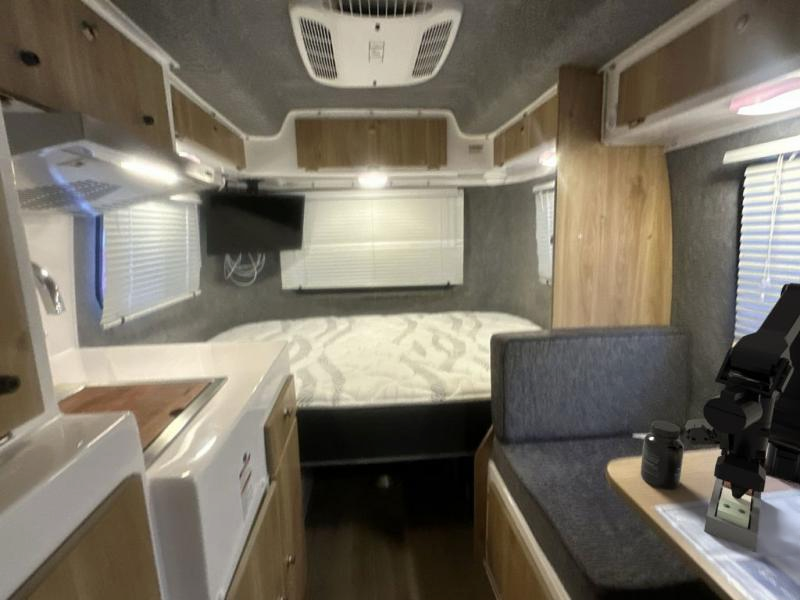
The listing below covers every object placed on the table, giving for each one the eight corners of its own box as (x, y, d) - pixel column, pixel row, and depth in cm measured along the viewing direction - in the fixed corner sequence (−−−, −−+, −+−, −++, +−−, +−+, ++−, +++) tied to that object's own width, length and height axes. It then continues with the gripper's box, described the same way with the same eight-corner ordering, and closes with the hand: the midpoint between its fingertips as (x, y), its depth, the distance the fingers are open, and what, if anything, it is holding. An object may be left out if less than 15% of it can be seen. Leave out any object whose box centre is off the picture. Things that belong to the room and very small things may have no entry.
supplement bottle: (686, 492, 79) (693, 436, 77) (647, 488, 80) (653, 433, 78) (670, 471, 85) (676, 419, 83) (635, 468, 87) (640, 416, 84)
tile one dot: (721, 498, 76) (723, 486, 75) (749, 508, 73) (751, 496, 72) (718, 510, 73) (720, 497, 72) (747, 520, 70) (750, 507, 69)
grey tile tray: (716, 483, 81) (718, 470, 81) (759, 498, 77) (762, 484, 76) (704, 531, 69) (706, 515, 69) (755, 551, 65) (757, 535, 64)
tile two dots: (718, 510, 71) (720, 497, 71) (748, 521, 69) (750, 507, 68) (715, 522, 69) (717, 508, 68) (746, 534, 66) (748, 520, 65)
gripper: (699, 387, 81) (690, 457, 84) (682, 421, 68) (672, 502, 71) (774, 403, 74) (761, 479, 77) (771, 444, 61) (756, 535, 64)
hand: (736, 496), depth 72 cm, fingers closed, pressing on tile one dot
